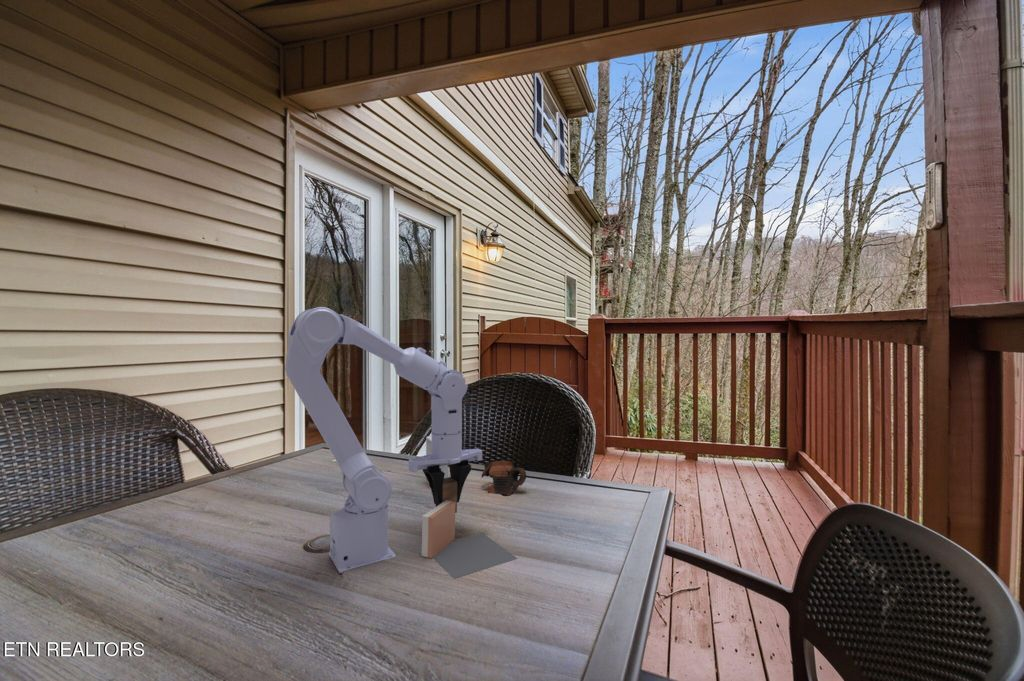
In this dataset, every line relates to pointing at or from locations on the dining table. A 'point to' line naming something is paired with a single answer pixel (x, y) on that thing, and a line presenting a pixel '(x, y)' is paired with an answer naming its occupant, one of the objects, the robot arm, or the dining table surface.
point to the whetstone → (438, 528)
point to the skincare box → (429, 451)
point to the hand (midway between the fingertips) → (446, 502)
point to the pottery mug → (503, 477)
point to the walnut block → (449, 491)
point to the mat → (472, 555)
